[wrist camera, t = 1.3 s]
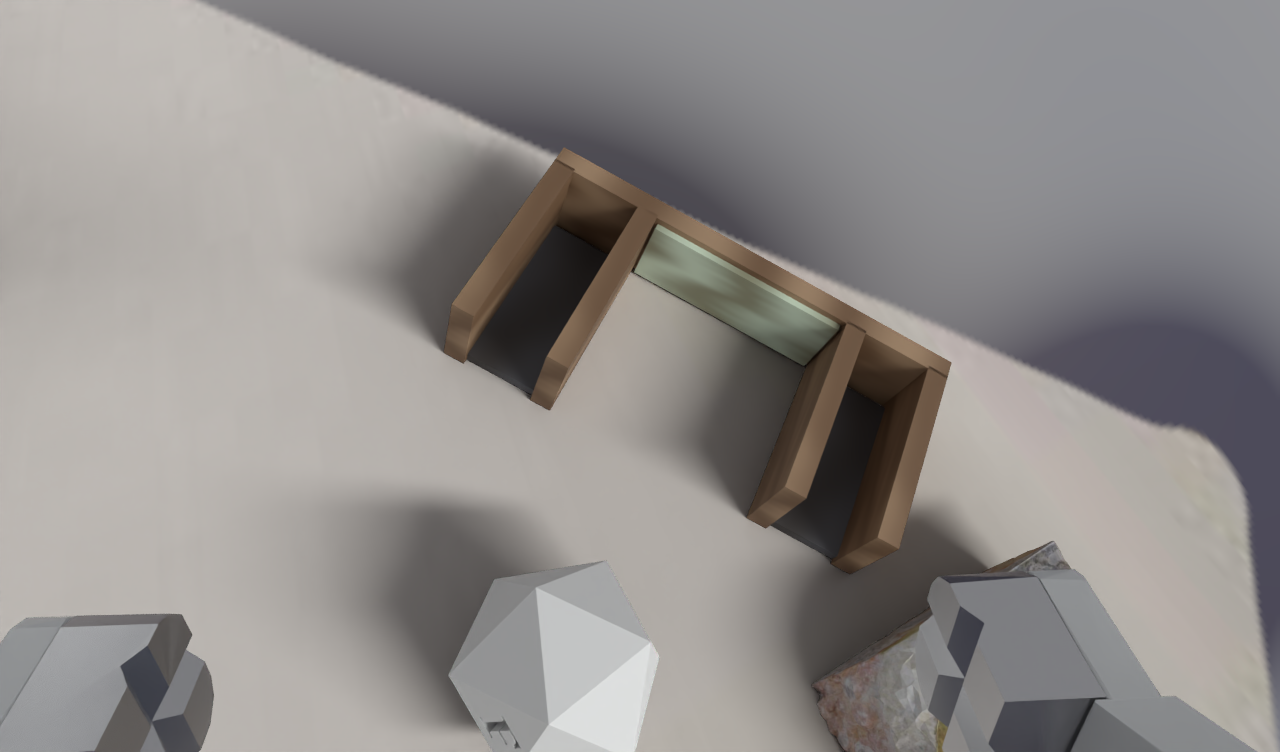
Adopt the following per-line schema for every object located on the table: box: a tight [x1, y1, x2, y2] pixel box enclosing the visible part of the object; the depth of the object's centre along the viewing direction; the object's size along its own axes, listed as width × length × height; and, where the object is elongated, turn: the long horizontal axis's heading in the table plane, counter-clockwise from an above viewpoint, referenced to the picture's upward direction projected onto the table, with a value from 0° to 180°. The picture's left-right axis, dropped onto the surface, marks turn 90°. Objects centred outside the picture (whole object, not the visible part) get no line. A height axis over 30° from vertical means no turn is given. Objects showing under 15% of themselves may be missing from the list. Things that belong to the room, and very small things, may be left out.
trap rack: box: [444, 148, 951, 574], centre depth 47 cm, size 25×12×5 cm, turn 64°
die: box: [448, 561, 659, 752], centre depth 37 cm, size 8×9×10 cm
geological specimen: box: [811, 541, 1071, 752], centre depth 43 cm, size 11×6×15 cm
